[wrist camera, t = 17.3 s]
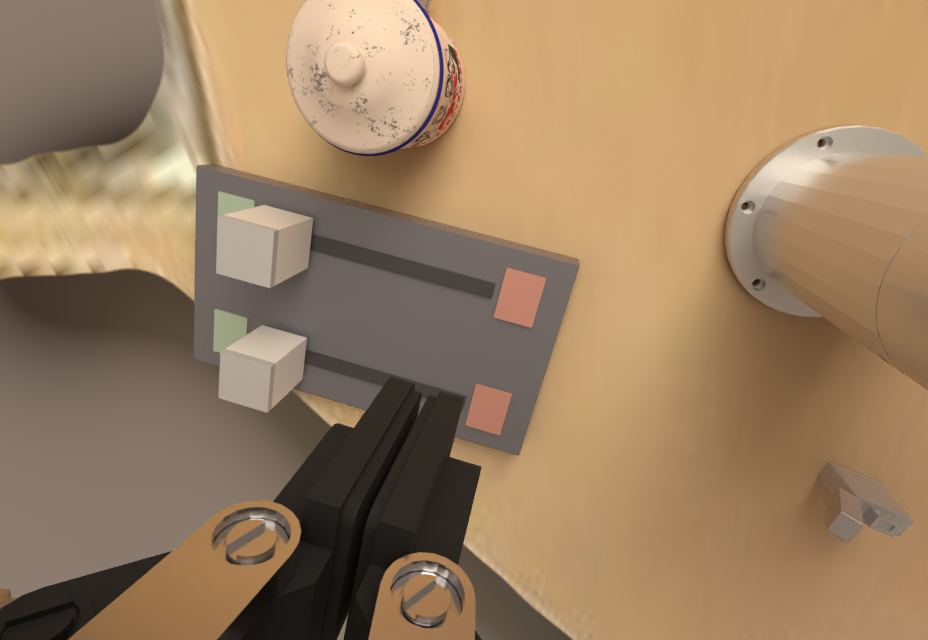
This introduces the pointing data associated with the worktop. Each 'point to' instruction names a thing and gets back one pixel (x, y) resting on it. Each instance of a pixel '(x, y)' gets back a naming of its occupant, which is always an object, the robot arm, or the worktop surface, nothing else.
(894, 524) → the lighter
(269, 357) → the beige slider knob
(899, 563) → the worktop surface
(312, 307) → the panel
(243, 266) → the on switch
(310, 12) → the teacup with lid
